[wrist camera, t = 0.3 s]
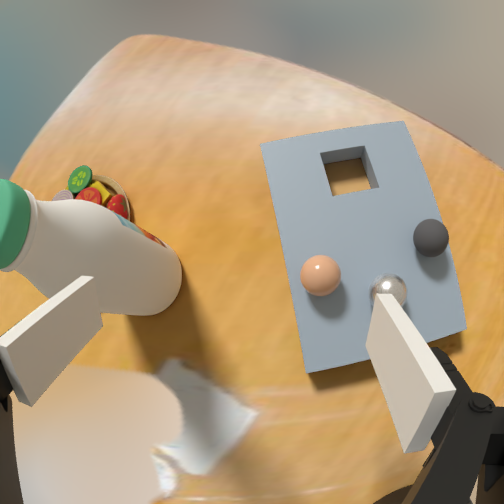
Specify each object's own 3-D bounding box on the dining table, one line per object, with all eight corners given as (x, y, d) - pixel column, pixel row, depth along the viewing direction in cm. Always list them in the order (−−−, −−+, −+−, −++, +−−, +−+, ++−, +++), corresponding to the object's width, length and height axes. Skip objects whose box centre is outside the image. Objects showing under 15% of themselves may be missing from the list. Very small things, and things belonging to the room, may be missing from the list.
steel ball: (403, 308, 24) (416, 307, 21) (368, 317, 24) (377, 317, 21) (396, 271, 25) (407, 265, 22) (361, 280, 25) (369, 274, 22)
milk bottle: (200, 273, 30) (53, 198, 11) (150, 332, 30) (-23, 330, 10) (149, 225, 32) (8, 127, 13) (105, 280, 31) (-54, 233, 12)
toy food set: (86, 311, 31) (68, 310, 28) (35, 242, 35) (19, 236, 32) (156, 216, 32) (142, 205, 29) (93, 160, 36) (79, 149, 33)
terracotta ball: (342, 293, 25) (347, 289, 22) (304, 301, 26) (304, 298, 22) (334, 255, 26) (338, 246, 23) (296, 263, 26) (296, 255, 23)
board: (454, 328, 25) (466, 328, 23) (305, 368, 27) (306, 373, 24) (397, 133, 30) (403, 120, 28) (263, 156, 32) (259, 143, 29)
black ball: (443, 256, 24) (459, 248, 21) (413, 263, 25) (426, 256, 22) (434, 222, 25) (448, 210, 22) (404, 228, 25) (415, 217, 22)
